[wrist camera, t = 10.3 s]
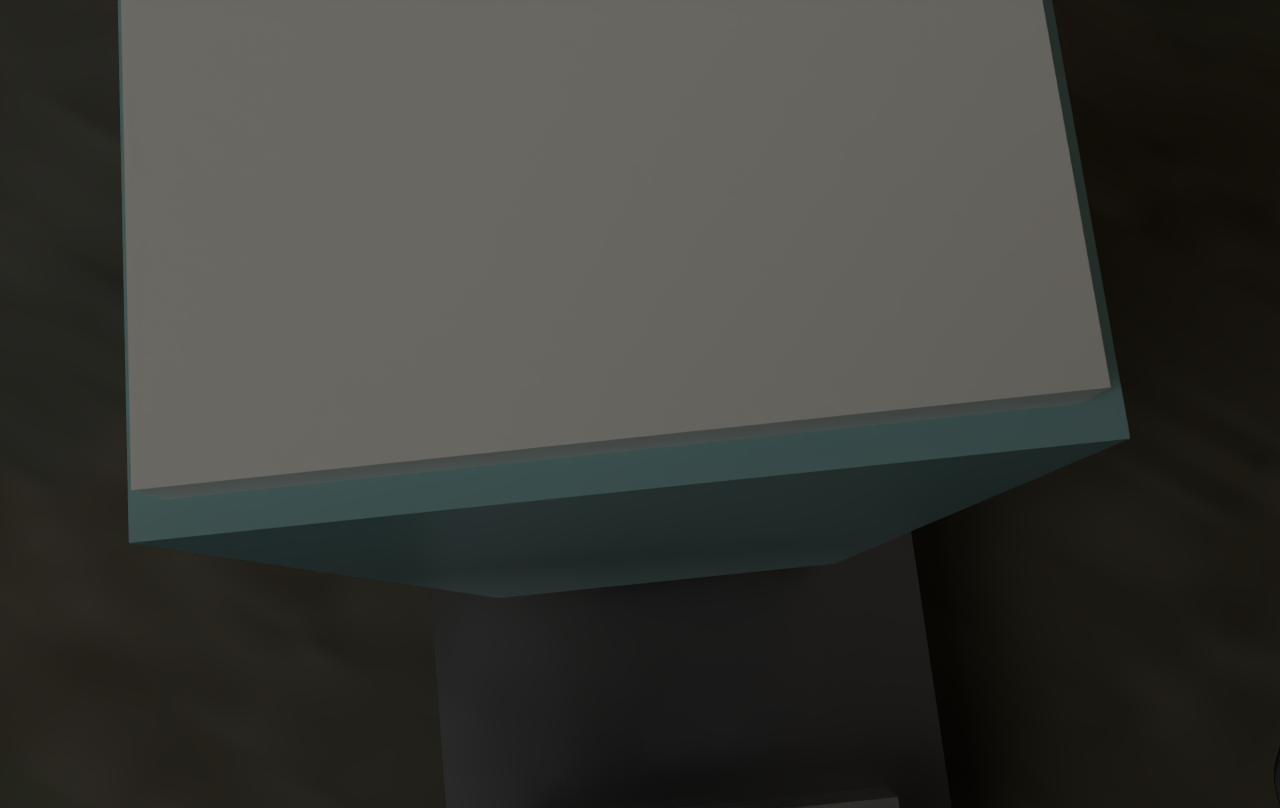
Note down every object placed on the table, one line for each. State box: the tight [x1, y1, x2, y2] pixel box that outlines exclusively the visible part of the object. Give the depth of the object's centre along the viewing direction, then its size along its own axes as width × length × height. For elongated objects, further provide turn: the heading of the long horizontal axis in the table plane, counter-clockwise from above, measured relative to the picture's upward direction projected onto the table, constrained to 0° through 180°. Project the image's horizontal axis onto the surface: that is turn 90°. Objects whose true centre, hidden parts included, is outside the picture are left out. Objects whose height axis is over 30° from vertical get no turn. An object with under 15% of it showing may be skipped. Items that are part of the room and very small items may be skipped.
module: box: [118, 0, 1130, 598], centre depth 12 cm, size 5×5×12 cm
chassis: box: [430, 532, 952, 808], centre depth 19 cm, size 16×8×4 cm, turn 6°
